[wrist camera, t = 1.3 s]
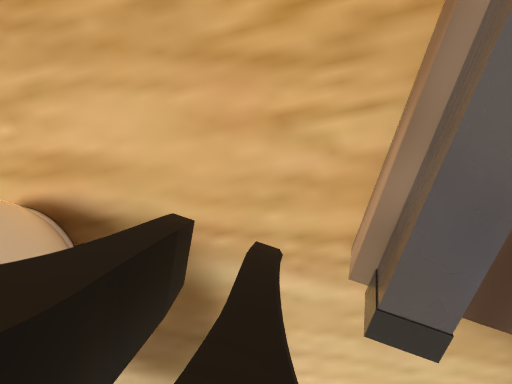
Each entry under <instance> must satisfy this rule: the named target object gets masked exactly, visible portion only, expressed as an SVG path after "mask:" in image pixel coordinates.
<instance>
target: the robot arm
mask: <svg viewBox="0 0 512 384" xmlns="http://www.w3.org/2000/svg"><path fill="white" fill-rule="evenodd" d="M193 227H194V220H191V219H188V218H185V217H182V216H179V215H176V214H173V213H172V214H169V215H166V216H163V217H160V218H157V219H154V220H151V221H149V222H146V223H143V224H140V225H138V226H135V227H132V228H129V229H127V230H124V231H121V232H118V233H115V234H112V235H110V236H107V237H104V238H100V239H97V240H94V241H91V242H87V243H84V244H81V245H78V246H74V247H71V248H68V249H65V250H61V251H57V252H53V253H49V254H45V255H41V256H37V257H32V258H28V259H23V260H19V261H14V262H9V263H4V264H0V384H113V383H114V382H115V380H116V379H117V378H118V377H119V375H120V374H121V373H122V371H123V370H124V369H125V368H126V366H127V365H128V364H129V362H130V361H131V360H132V359H133V357H134V356H135V355H136V353H137V352H138V351H139V350H140V348H141V347H142V346H143V344H144V343H145V342H146V341H147V339H148V338H149V337H150V335H151V334H152V333H153V331H154V330H155V329H156V328H157V326H158V325H159V324H160V322H161V321H162V320H163V318H164V317H165V316H166V314H167V312H168V311H169V309H170V307H171V306H172V304H173V302H174V301H175V299H176V297H177V295H178V293H179V292H180V290H181V288H182V286H183V285H184V280H185V274H186V268H187V262H188V256H189V251H190V245H191V239H192V233H193ZM282 256H283V254H282V253H281V251H280V249H277V248H274V247H271V246H268V245H265V244H262V243H259V242H257V241H256V242H255V243H254V244H253V246H252V247H251V248H250V249H249V251H248V252H247V254H246V256H245V258H244V261H243V263H242V265H241V268H240V270H239V273H238V275H237V278H236V280H235V283H234V285H233V287H232V290H231V292H230V295H229V297H228V300H227V302H226V304H225V306H224V308H223V310H222V312H221V314H220V316H219V317H218V319H217V321H216V322H215V324H214V325H213V327H212V329H211V330H210V332H209V333H208V335H207V336H206V338H205V340H204V341H203V343H202V344H201V346H200V347H199V349H198V350H197V352H196V353H195V354H194V356H193V357H192V359H191V360H190V362H189V363H188V365H187V366H186V368H185V369H184V371H183V372H182V373H181V375H180V376H179V378H178V379H177V380H176V382H175V383H174V384H298V381H297V378H296V375H295V371H294V368H293V364H292V360H291V357H290V352H289V348H288V344H287V339H286V334H285V328H284V323H283V316H282V309H281V299H280V285H279V272H280V262H281V259H282Z"/></svg>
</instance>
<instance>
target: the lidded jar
mask: <svg viewBox="0 0 512 384" xmlns="http://www.w3.org/2000/svg"><path fill="white" fill-rule="evenodd" d="M71 247H74V245H73V243H72V241H71V240H70V238H69V237H68V235H67V234H66V233H65V232H64V231H63V229H62V228H61V227H60V226H59V225H58V224H57V223H56V222H54V221H53V220H52V219H50V218H49V217H48V216H46V215H44V214H43V213H41V212H39V211H36V210H34V209H30V208H27V207H21V206H19V205H17V204H14V203H11V202H8V201H4V200H1V199H0V264H4V263H9V262H14V261H19V260H23V259H28V258H32V257H37V256H41V255H45V254H49V253H53V252H57V251H61V250H65V249H68V248H71Z"/></svg>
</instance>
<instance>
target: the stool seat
mask: <svg viewBox="0 0 512 384" xmlns="http://www.w3.org/2000/svg"><path fill="white" fill-rule="evenodd" d="M489 3H490V0H446V1H445V3H444V6H443V9H442V11H441V14H440V16H439V19H438V22H437V24H436V27H435V30H434V32H433V35H432V38H431V40H430V43H429V46H428V48H427V51H426V54H425V56H424V59H423V61H422V64H421V67H420V69H419V72H418V75H417V77H416V80H415V83H414V85H413V88H412V91H411V93H410V96H409V98H408V101H407V104H406V106H405V109H404V112H403V114H402V117H401V120H400V122H399V125H398V128H397V130H396V133H395V136H394V138H393V141H392V143H391V146H390V149H389V151H388V154H387V157H386V159H385V162H384V165H383V167H382V170H381V173H380V175H379V178H378V180H377V183H376V186H375V188H374V191H373V194H372V196H371V199H370V202H369V204H368V207H367V210H366V212H365V215H364V218H363V220H362V223H361V225H360V228H359V231H358V233H357V236H356V239H355V241H354V244H353V247H352V251H351V261H350V271H349V279H350V280H353V281H356V282H359V283H361V284H364V285H367V286H369V283H370V281H371V278H372V276H373V274H374V271H375V269H377V268H378V266H379V264H380V261H381V259H382V256H383V254H384V252H385V249H386V247H387V245H388V242H389V240H390V237H391V235H392V233H393V230H394V228H395V226H396V223H397V221H398V218H399V216H400V214H401V211H402V209H403V207H404V204H405V202H406V199H407V197H408V195H409V192H410V190H411V188H412V185H413V183H414V181H415V178H416V176H417V173H418V171H419V169H420V166H421V164H422V162H423V159H424V157H425V154H426V152H427V150H428V147H429V145H430V143H431V140H432V138H433V135H434V133H435V131H436V128H437V126H438V124H439V121H440V119H441V116H442V114H443V112H444V109H445V107H446V105H447V102H448V100H449V97H450V95H451V93H452V90H453V88H454V86H455V83H456V81H457V78H458V76H459V74H460V71H461V69H462V67H463V64H464V62H465V59H466V57H467V55H468V52H469V50H470V48H471V45H472V43H473V40H474V38H475V36H476V33H477V31H478V29H479V26H480V24H481V21H482V19H483V17H484V14H485V12H486V10H487V7H488V5H489ZM462 318H465V319H468V320H471V321H474V322H476V323H479V324H482V325H485V326H488V327H491V328H494V329H497V330H500V331H503V332H506V333H509V334H512V230H511V231H510V233H509V235H508V237H507V239H506V240H505V242H504V244H503V246H502V247H501V249H500V251H499V253H498V254H497V256H496V258H495V260H494V261H493V263H492V265H491V267H490V268H489V270H488V272H487V274H486V276H485V277H484V279H483V281H482V283H481V284H480V286H479V288H478V290H477V291H476V293H475V295H474V297H473V298H472V300H471V302H470V304H469V305H468V307H467V309H466V311H465V313H464V314H463V316H462Z"/></svg>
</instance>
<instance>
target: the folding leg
mask: <svg viewBox="0 0 512 384" xmlns="http://www.w3.org/2000/svg"><path fill="white" fill-rule="evenodd" d="M511 230H512V0H490V3H489V5H488V7H487V10H486V12H485V14H484V17H483V19H482V21H481V24H480V26H479V29H478V31H477V33H476V36H475V38H474V40H473V43H472V45H471V48H470V50H469V52H468V55H467V57H466V59H465V62H464V64H463V67H462V69H461V71H460V74H459V76H458V78H457V81H456V83H455V86H454V88H453V90H452V93H451V95H450V97H449V100H448V102H447V105H446V107H445V109H444V112H443V114H442V116H441V119H440V121H439V124H438V126H437V128H436V131H435V133H434V135H433V138H432V140H431V143H430V145H429V147H428V150H427V152H426V154H425V157H424V159H423V162H422V164H421V166H420V169H419V171H418V173H417V176H416V178H415V181H414V183H413V185H412V188H411V190H410V192H409V195H408V197H407V199H406V202H405V204H404V207H403V209H402V211H401V214H400V216H399V218H398V221H397V223H396V226H395V228H394V230H393V233H392V235H391V237H390V240H389V242H388V245H387V247H386V249H385V252H384V254H383V256H382V259H381V261H380V264H379V266H378V268H377V269H375V271H374V274H373V276H372V278H371V281H370V283H369V286H368V288H367V290H366V293H365V320H364V337H367V338H370V339H372V340H375V341H378V342H381V343H384V344H386V345H389V346H392V347H395V348H397V349H400V350H403V351H406V352H409V353H411V354H414V355H417V356H420V357H423V358H425V359H428V360H431V361H434V362H436V363H439V361H440V360H441V358H442V356H443V354H444V353H445V351H446V349H447V347H448V346H449V344H450V342H451V340H452V339H453V337H454V336H453V332H454V330H455V328H456V327H457V325H458V323H459V321H460V320H461V318H462V316H463V314H464V313H465V311H466V309H467V307H468V305H469V304H470V302H471V300H472V298H473V297H474V295H475V293H476V291H477V290H478V288H479V286H480V284H481V283H482V281H483V279H484V277H485V276H486V274H487V272H488V270H489V268H490V267H491V265H492V263H493V261H494V260H495V258H496V256H497V254H498V253H499V251H500V249H501V247H502V246H503V244H504V242H505V240H506V239H507V237H508V235H509V233H510V231H511Z"/></svg>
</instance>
